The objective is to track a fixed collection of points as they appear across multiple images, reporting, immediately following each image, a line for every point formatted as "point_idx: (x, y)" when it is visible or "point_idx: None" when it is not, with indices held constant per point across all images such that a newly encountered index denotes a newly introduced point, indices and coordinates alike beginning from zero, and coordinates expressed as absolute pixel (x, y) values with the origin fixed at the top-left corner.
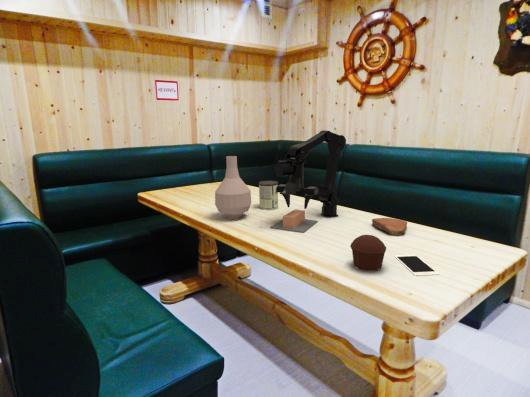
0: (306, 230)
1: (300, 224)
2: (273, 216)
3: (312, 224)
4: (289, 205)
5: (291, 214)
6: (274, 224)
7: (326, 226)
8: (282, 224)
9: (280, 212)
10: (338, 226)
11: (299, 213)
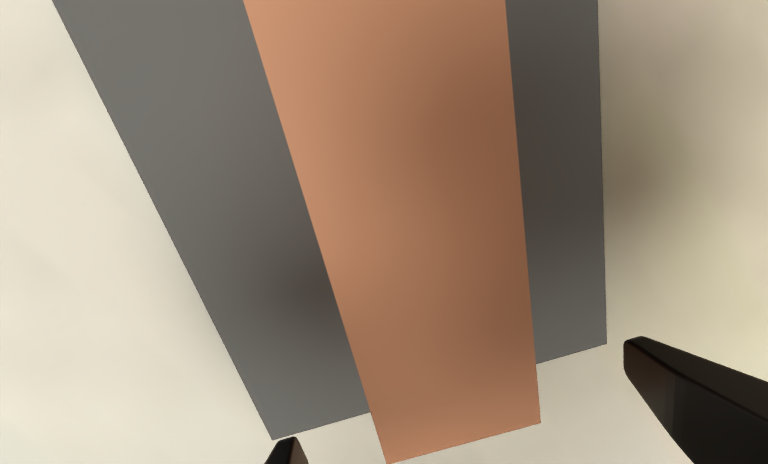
0: (115, 113)
1: None
2: (739, 288)
3: (219, 320)
4: (645, 392)
5: (425, 175)
6: (594, 17)
7: (92, 381)
8: None
9: None
10: (9, 450)
11: (349, 312)
